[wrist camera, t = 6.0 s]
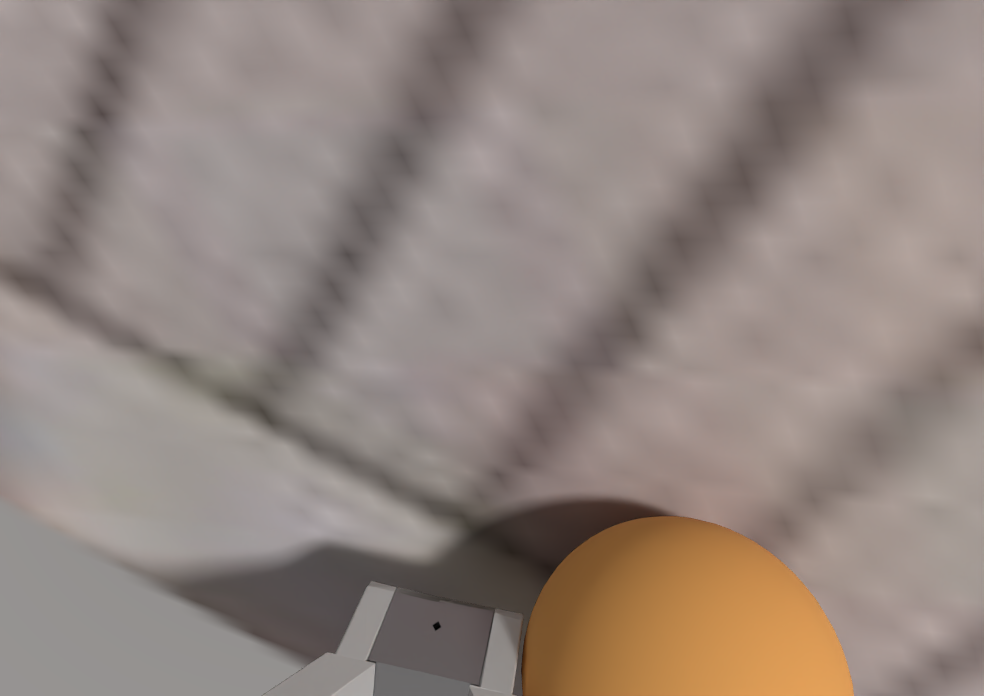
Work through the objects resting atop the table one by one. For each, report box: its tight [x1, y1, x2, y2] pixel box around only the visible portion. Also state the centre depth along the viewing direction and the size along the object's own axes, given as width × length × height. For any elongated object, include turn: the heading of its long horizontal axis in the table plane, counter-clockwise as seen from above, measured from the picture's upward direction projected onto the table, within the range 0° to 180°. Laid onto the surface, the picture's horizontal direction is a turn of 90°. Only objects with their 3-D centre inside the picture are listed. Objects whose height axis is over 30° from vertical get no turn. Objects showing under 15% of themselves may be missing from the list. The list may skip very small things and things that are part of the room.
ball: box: [521, 516, 854, 696], centre depth 10 cm, size 5×5×5 cm
